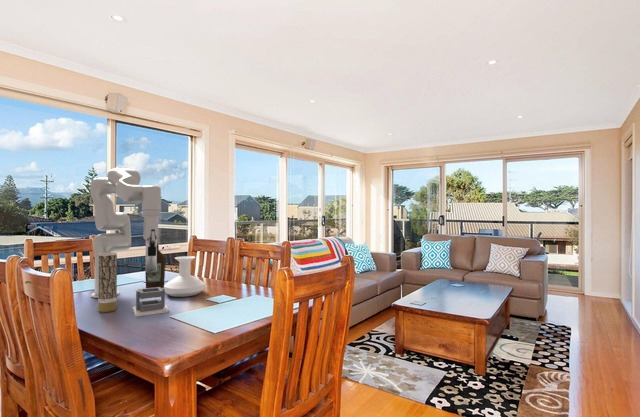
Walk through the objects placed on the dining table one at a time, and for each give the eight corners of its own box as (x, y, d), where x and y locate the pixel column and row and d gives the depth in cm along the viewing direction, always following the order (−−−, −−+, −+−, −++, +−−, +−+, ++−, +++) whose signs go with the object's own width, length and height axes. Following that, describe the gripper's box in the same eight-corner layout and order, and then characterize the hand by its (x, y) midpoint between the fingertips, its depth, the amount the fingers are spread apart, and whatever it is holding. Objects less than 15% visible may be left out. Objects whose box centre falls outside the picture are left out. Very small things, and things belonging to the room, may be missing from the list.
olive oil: (146, 286, 204) (147, 242, 204) (166, 285, 207) (167, 242, 207) (142, 290, 194) (143, 244, 194) (163, 289, 197) (163, 244, 197)
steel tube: (144, 271, 157) (145, 232, 157) (155, 270, 160) (156, 232, 160) (146, 272, 153) (146, 233, 153) (157, 271, 156) (157, 233, 156)
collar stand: (132, 309, 159) (132, 288, 159) (164, 304, 166) (164, 285, 166) (135, 316, 148) (135, 294, 148) (169, 311, 155) (169, 291, 155)
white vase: (155, 295, 183) (155, 258, 183) (188, 288, 200) (188, 254, 200) (180, 301, 172) (180, 261, 172) (212, 293, 189) (213, 256, 189)
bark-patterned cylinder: (108, 313, 152) (108, 254, 152) (94, 312, 153) (94, 254, 153) (120, 309, 158) (120, 252, 158) (106, 308, 160) (107, 252, 160)
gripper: (139, 213, 162) (139, 253, 162) (144, 214, 147) (143, 258, 147) (157, 213, 166) (157, 252, 166) (163, 214, 151) (163, 257, 151)
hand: (151, 254), depth 157 cm, fingers closed on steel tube, 4 cm apart
